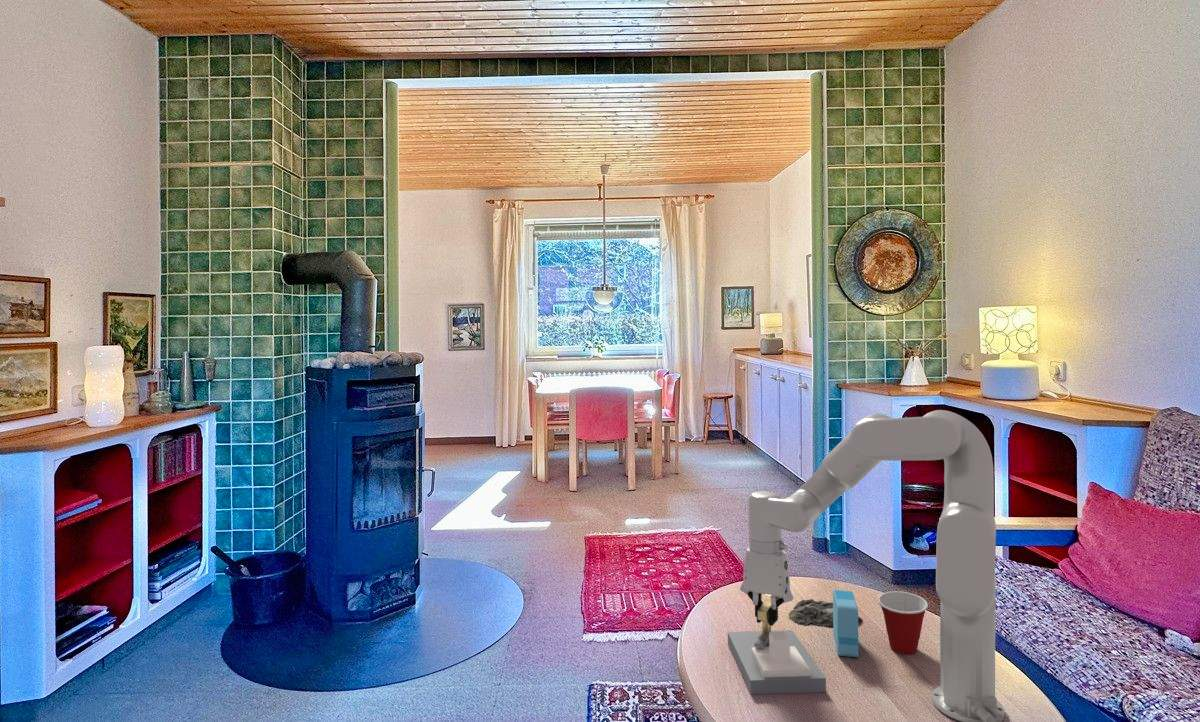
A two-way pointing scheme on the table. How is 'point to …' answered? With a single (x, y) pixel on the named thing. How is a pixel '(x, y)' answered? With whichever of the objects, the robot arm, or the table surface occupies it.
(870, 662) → the table surface
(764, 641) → the tan t-shaped piece
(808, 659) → the plate
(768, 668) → the lid
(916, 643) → the plastic cup
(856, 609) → the data package
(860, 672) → the table surface
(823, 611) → the geode
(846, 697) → the table surface
